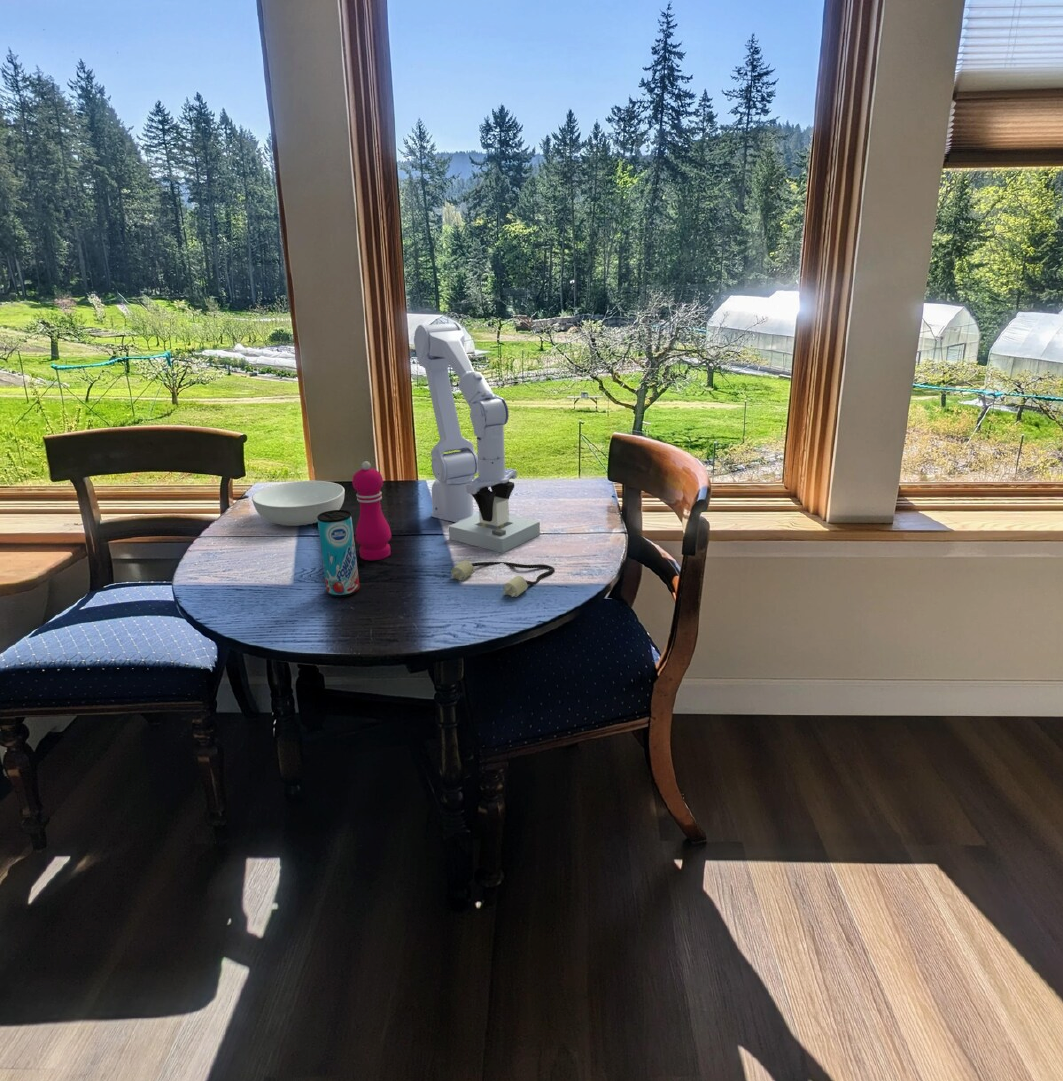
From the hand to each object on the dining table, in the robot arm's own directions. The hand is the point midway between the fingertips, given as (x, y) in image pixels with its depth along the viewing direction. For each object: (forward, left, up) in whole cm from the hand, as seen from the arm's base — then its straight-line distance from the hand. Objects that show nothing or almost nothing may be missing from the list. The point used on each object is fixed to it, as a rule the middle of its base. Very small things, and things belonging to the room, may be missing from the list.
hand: (493, 517), depth 163 cm
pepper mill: (-14, -22, -5) cm, 26 cm away
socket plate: (0, 0, -4) cm, 4 cm away
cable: (+15, -16, -5) cm, 22 cm away
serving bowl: (-46, -16, -5) cm, 49 cm away
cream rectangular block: (0, 0, -2) cm, 2 cm away
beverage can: (-5, -38, -5) cm, 39 cm away
